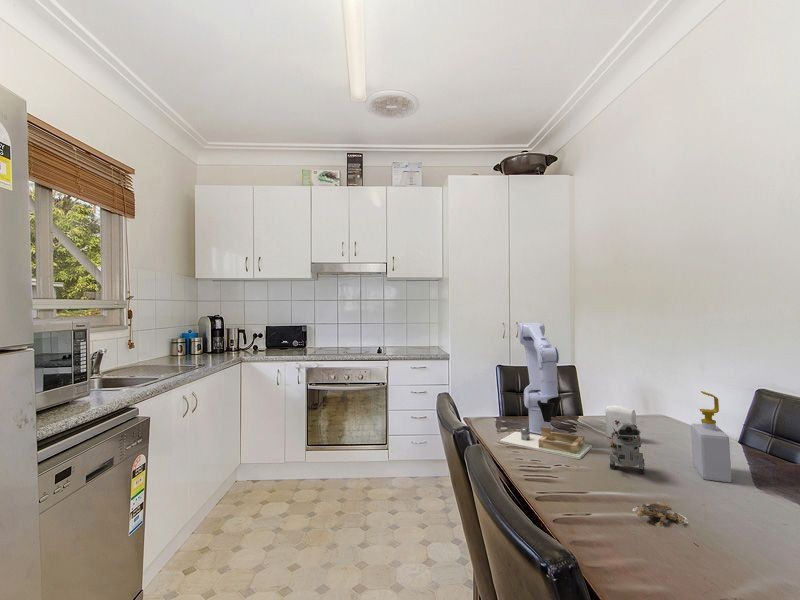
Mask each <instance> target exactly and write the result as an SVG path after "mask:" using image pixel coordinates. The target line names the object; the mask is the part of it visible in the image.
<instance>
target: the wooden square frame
mask: <svg viewBox="0 0 800 600" xmlns="http://www.w3.org/2000/svg"><path fill="white" fill-rule="evenodd" d="M551 428H552V426H551V427H545V426H542V427H541V434H540V436H543V437H541V438H540V439H539V440H538V441H539V447H541V448H546V449H552V450H557V451H562V452H568V453H573V454H576V453H577V452H578V450H579V449H580V448H581V447H582V446H583V445H584V444H585V436H582V435H575V434H569V433H563V432H557V431H551ZM552 440H556V441H562V442H568V443H572V444H568V443H562V442H556V441H552Z"/></svg>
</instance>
